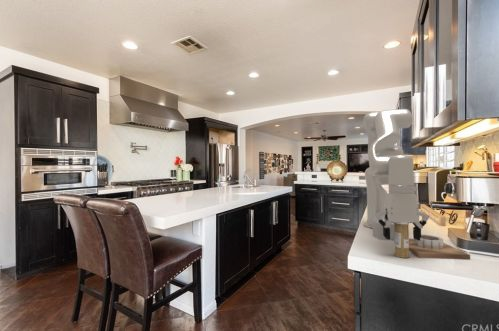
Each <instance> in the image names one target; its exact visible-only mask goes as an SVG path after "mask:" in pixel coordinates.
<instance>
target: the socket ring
mask: <svg viewBox="0 0 499 331" xmlns="http://www.w3.org/2000/svg"><path fill="white" fill-rule="evenodd" d="M413 239H414V238H413ZM443 243H444V238H441V237H440V236H435V235H431V234H422V233H421V237H420V241H419V240H416V239H414V245H416V246H418V247H422V248H426V249H435V250H440V249H443Z"/></svg>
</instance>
